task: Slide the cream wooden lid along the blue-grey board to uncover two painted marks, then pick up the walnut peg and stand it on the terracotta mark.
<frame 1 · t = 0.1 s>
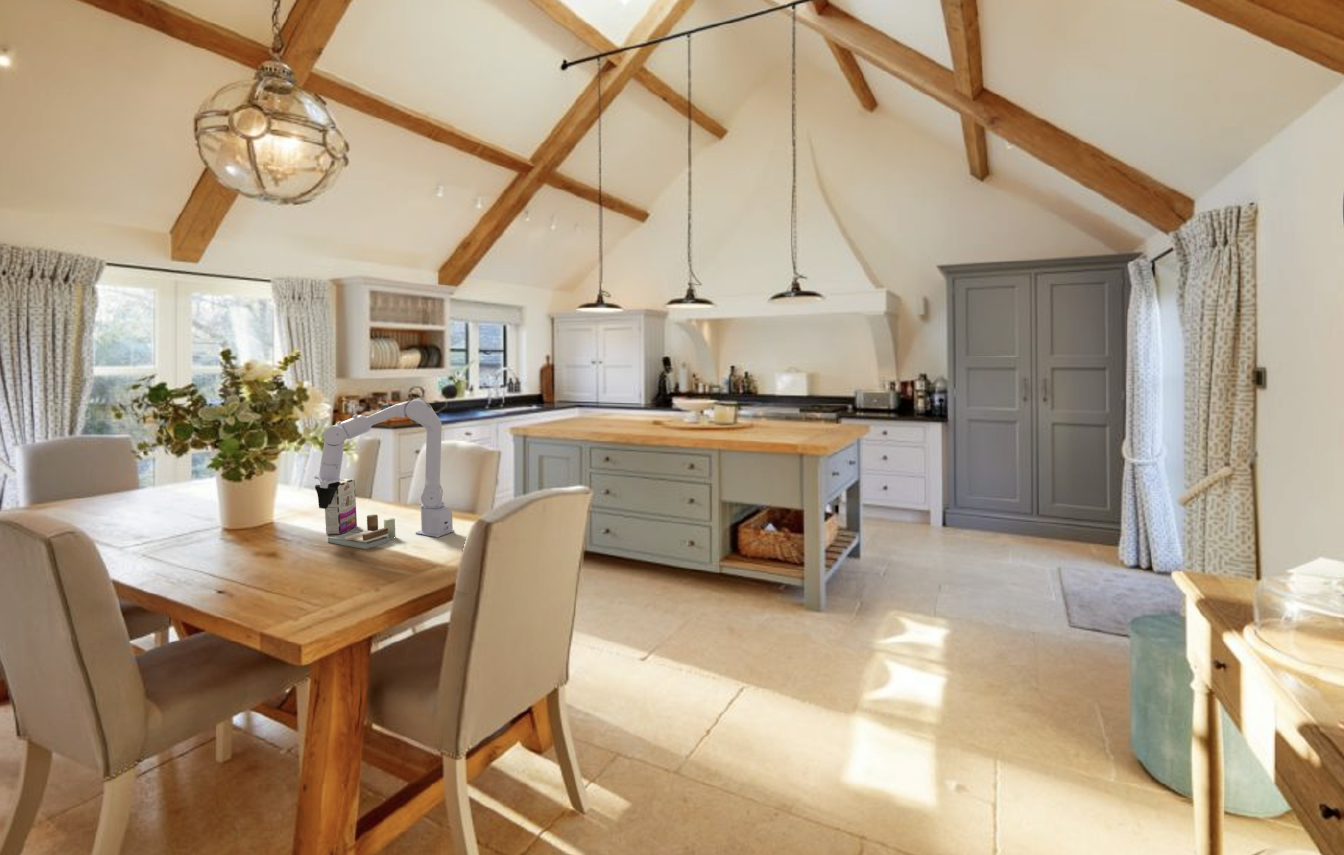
hand: (324, 506, 204), 11 cm above the table, tool pointing down, fingers open, 5 cm apart
layout board: (358, 541, 203), on the table
walnut peg: (373, 533, 212), on the table
candy bar box: (341, 530, 216), on the table, touching gripper
sage peg: (389, 537, 208), on the table
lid: (366, 533, 201), point 3 cm above the table, slide at 0.0 cm
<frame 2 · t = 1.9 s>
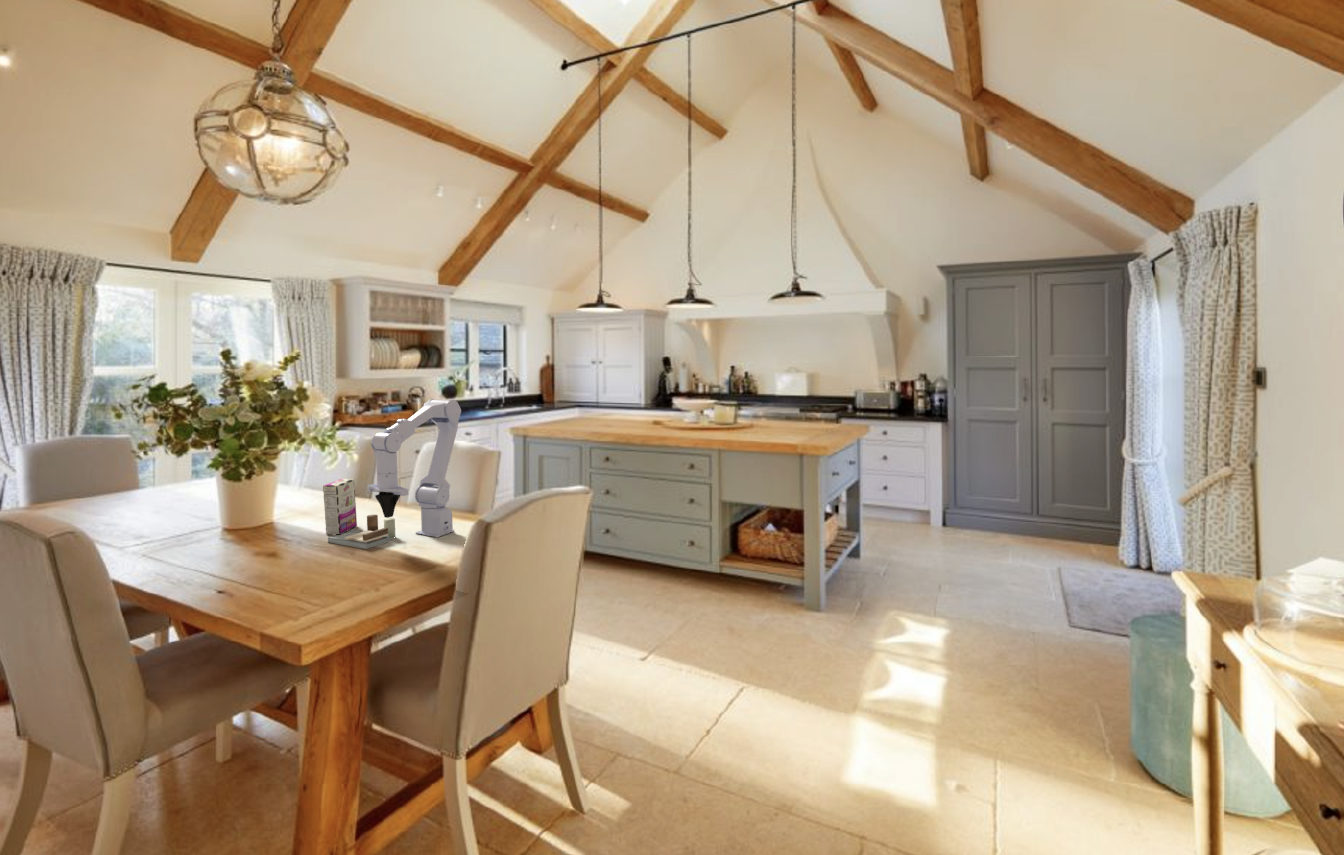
hand: (388, 516, 197), 9 cm above the table, tool pointing down, fingers closed
candy bar box: (341, 531, 216), on the table
everything else where it was.
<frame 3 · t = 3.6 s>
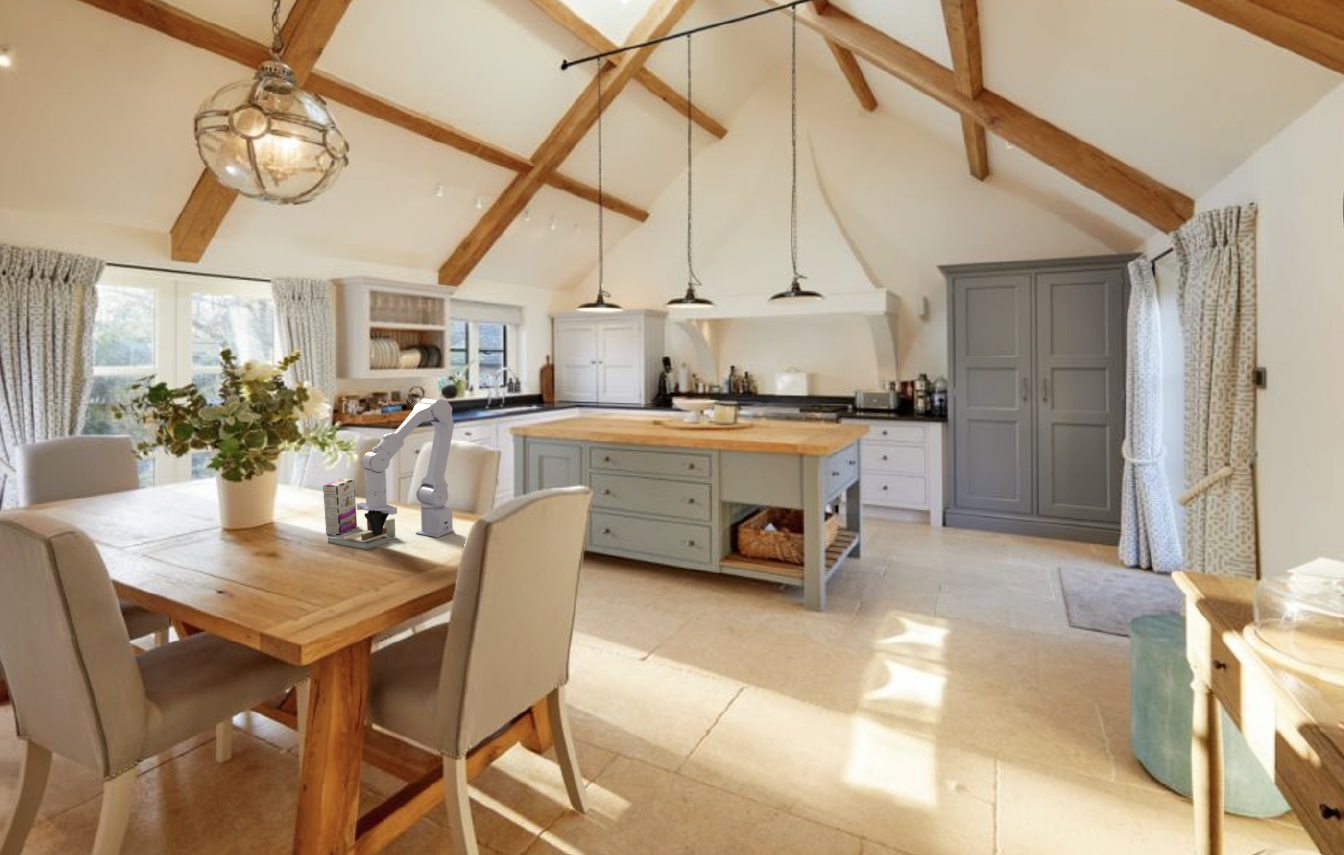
hand: (377, 534, 199), 3 cm above the table, tool pointing down, fingers closed
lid: (365, 533, 202), point 3 cm above the table, slide at 0.5 cm, touching gripper
everything else where it was.
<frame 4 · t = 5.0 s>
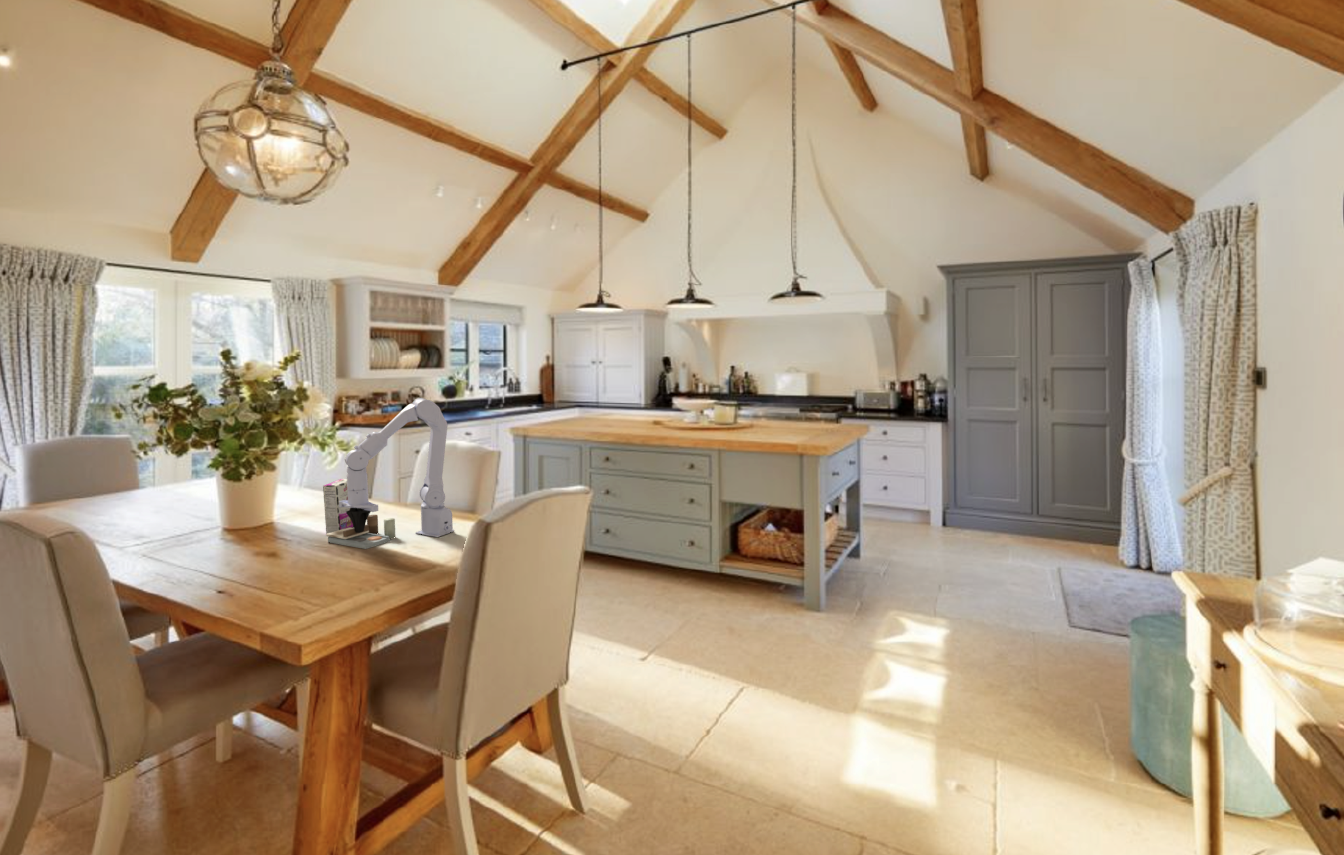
hand: (359, 531, 202), 3 cm above the table, tool pointing down, fingers closed
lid: (347, 530, 205), point 3 cm above the table, slide at 8.2 cm, touching gripper
everything else where it was.
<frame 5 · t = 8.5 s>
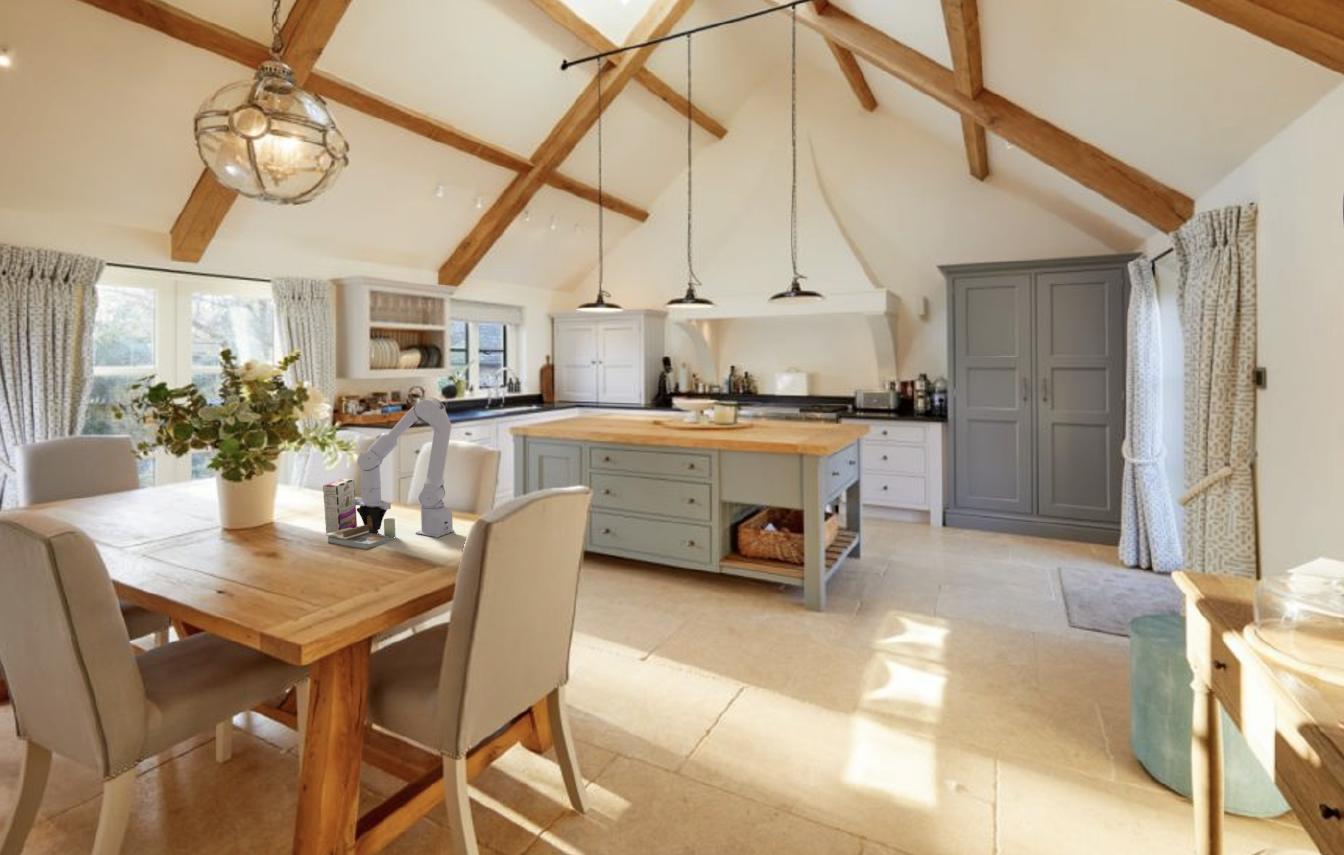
hand: (372, 528, 212), 2 cm above the table, tool pointing down, fingers closed on walnut peg, 3 cm apart
walnut peg: (372, 533, 212), on the table, touching gripper
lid: (347, 530, 205), point 3 cm above the table, slide at 8.2 cm
everything else where it was.
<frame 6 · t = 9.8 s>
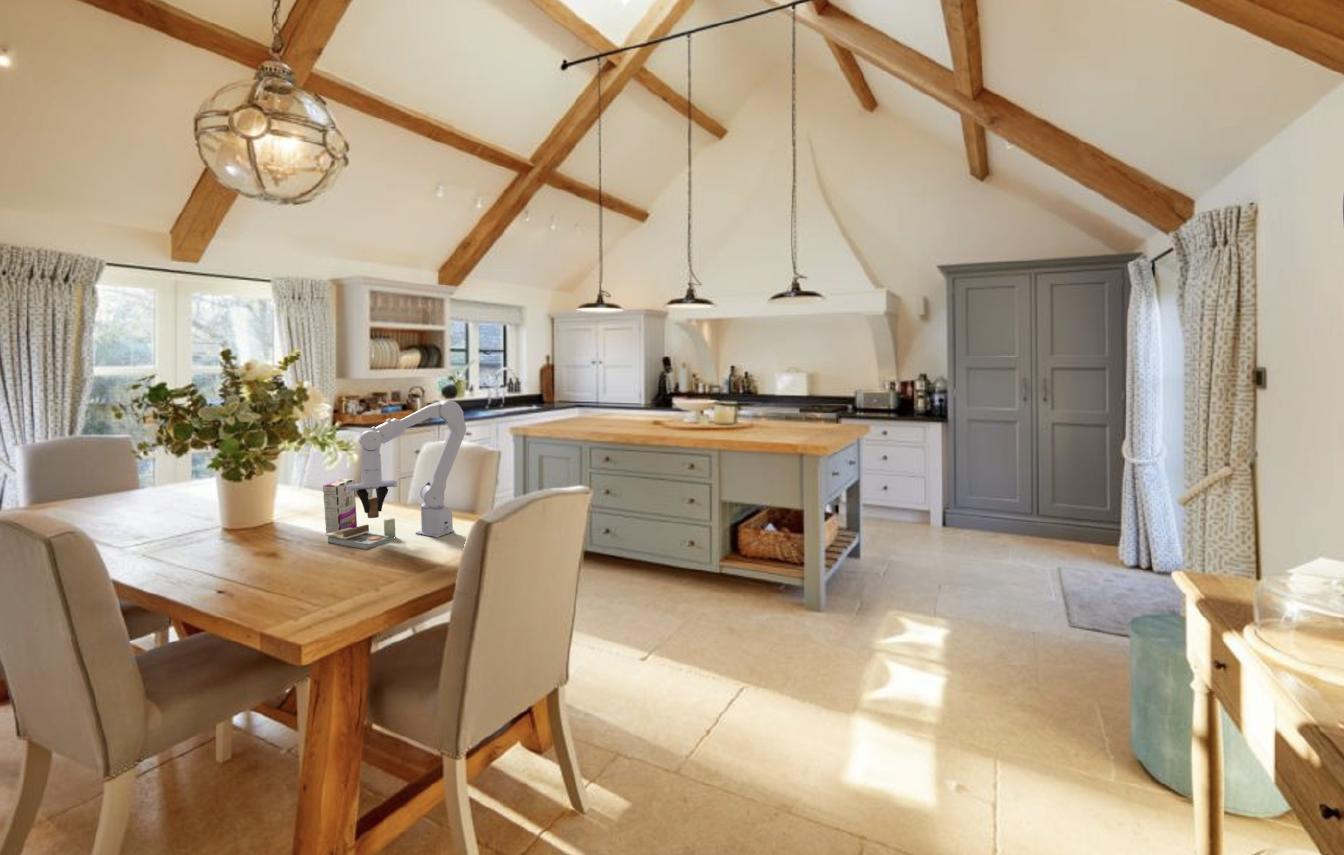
hand: (373, 511, 205), 9 cm above the table, tool pointing down, fingers closed on walnut peg, 3 cm apart
walnut peg: (373, 516, 205), point 7 cm above the table, touching gripper
everything else where it was.
when the fingers open (4 cm above the table, at t = 11.3 s): walnut peg stays where it is, resting on layout board.
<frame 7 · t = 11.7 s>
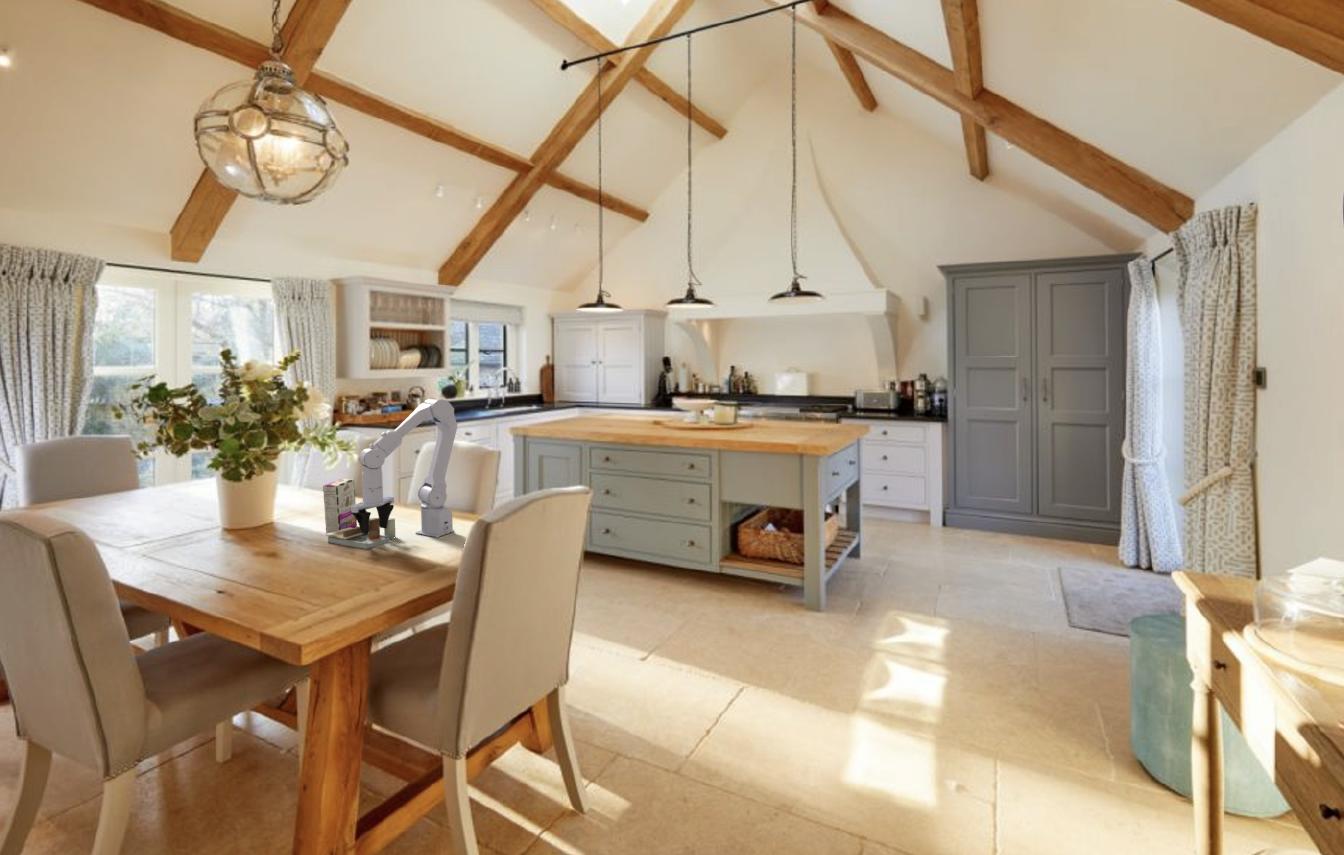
hand: (374, 530, 202), 4 cm above the table, tool pointing down, fingers open, 6 cm apart
walnut peg: (374, 538, 202), point 1 cm above the table, touching layout board
sage peg: (389, 537, 208), on the table, touching gripper
everything else where it was.
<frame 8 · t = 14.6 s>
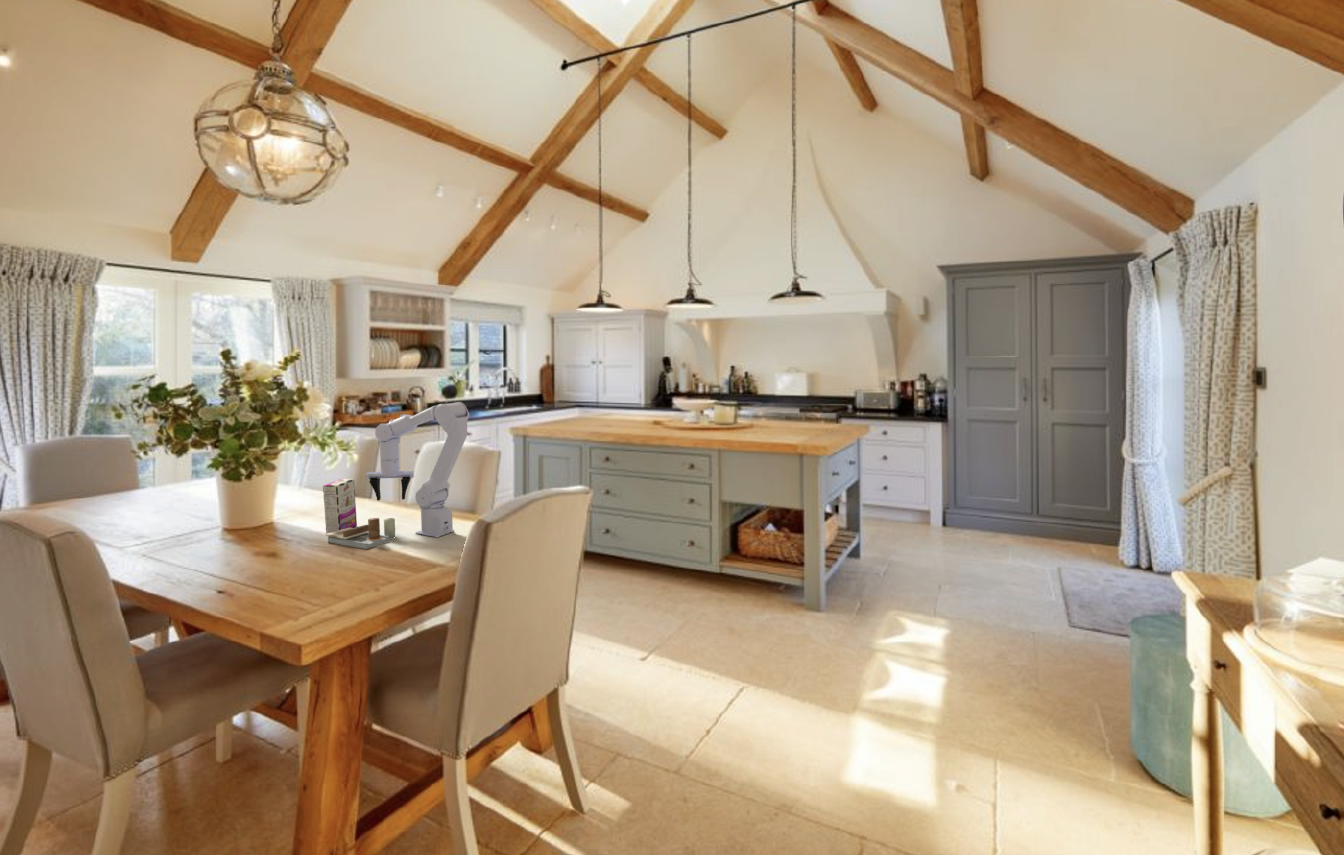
hand: (391, 499, 218), 10 cm above the table, tool pointing down, fingers open, 7 cm apart
sage peg: (389, 537, 208), on the table
everything else where it was.
at the end: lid slide at 8.2 cm; walnut peg 0.1 cm from the target spot on the layout board, point 1.4 cm above the layout board's base; walnut peg tilted 0° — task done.
